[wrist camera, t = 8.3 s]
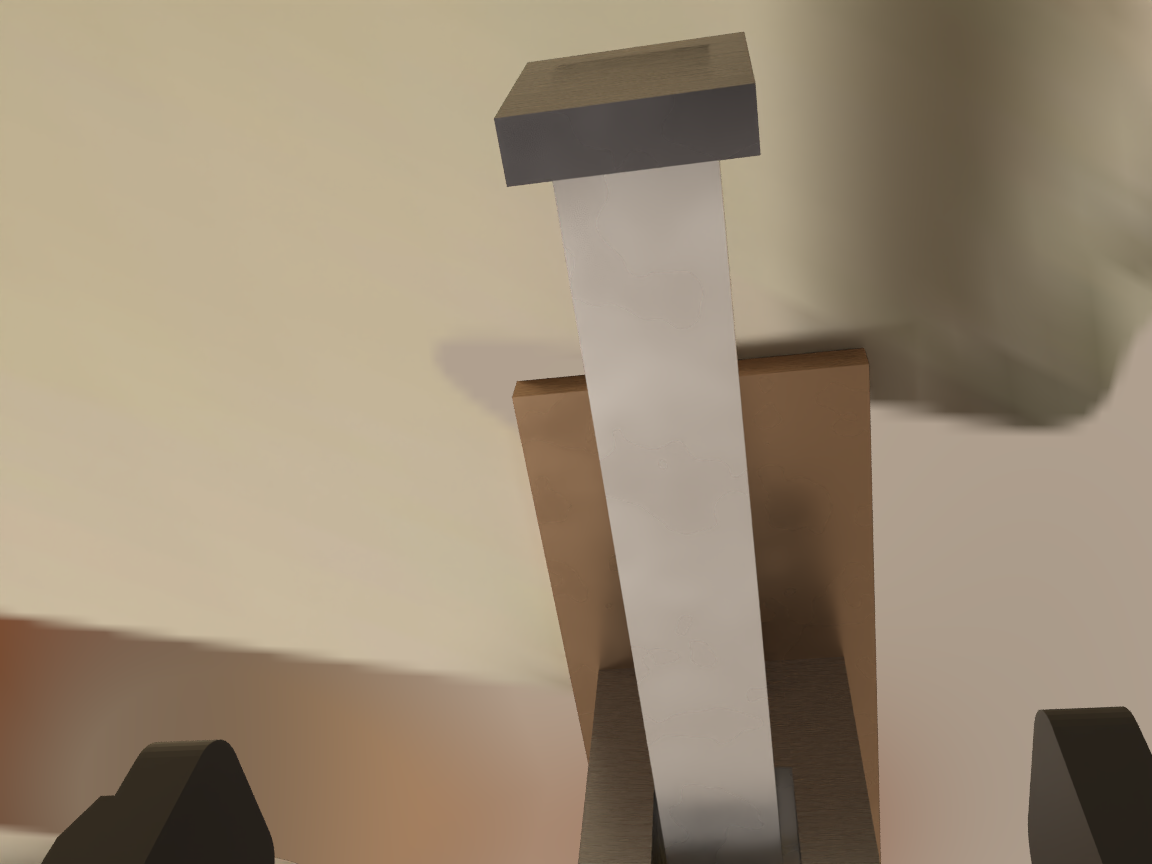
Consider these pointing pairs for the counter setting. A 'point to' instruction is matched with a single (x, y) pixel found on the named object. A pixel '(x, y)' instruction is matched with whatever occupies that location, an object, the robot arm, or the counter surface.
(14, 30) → the counter surface
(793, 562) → the block
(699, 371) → the shaft
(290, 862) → the cylindrical container
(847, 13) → the counter surface
